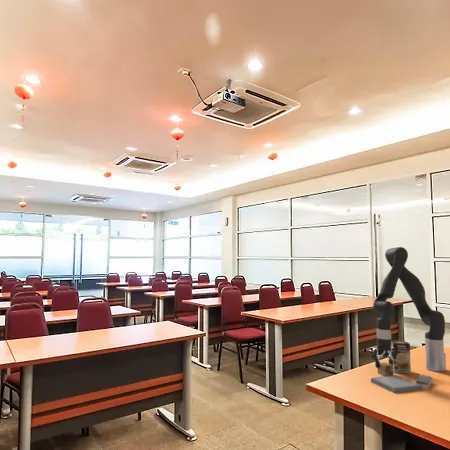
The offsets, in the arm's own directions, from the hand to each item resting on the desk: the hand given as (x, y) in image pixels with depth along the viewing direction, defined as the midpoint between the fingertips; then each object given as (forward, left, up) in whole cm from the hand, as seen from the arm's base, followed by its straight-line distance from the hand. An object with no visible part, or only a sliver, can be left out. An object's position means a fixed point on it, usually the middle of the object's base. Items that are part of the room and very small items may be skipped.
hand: (384, 367), depth 200 cm
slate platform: (+8, +16, -4) cm, 18 cm away
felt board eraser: (-7, +19, -4) cm, 21 cm away
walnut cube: (0, 0, -4) cm, 4 cm away
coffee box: (-12, -2, -4) cm, 13 cm away
